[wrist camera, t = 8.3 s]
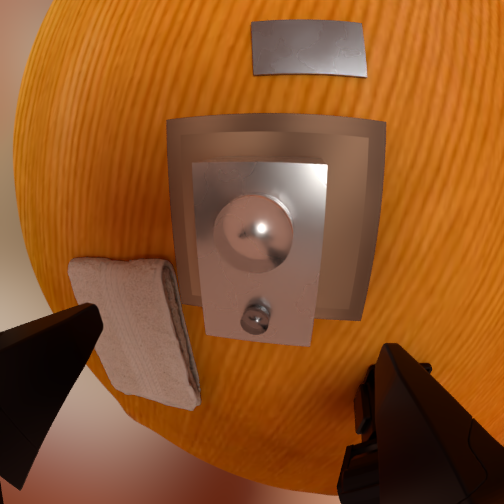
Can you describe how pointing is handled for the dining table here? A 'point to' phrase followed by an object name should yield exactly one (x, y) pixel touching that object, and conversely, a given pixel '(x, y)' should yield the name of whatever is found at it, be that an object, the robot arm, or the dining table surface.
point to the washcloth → (140, 327)
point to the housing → (260, 245)
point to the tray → (337, 192)
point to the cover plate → (308, 48)
